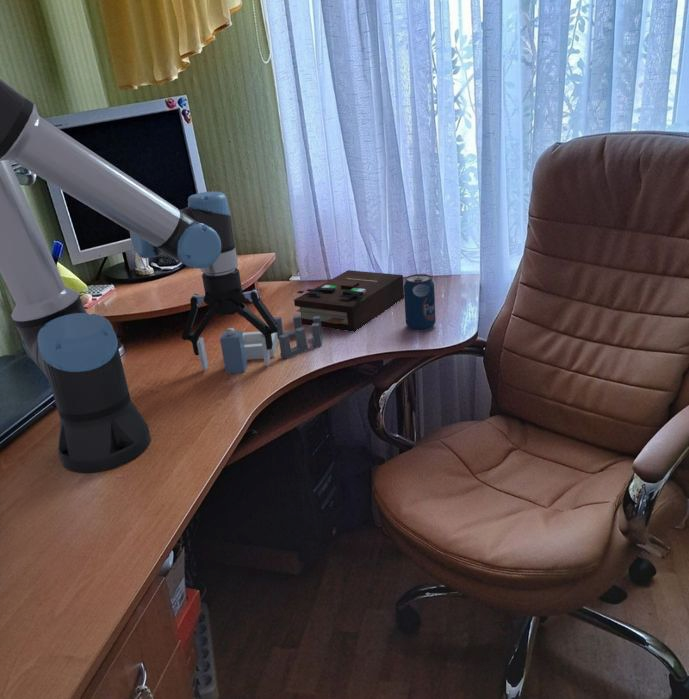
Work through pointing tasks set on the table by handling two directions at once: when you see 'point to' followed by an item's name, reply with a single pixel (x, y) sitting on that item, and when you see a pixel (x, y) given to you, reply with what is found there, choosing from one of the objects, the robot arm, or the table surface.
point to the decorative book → (350, 299)
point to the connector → (233, 351)
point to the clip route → (298, 336)
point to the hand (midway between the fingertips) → (236, 365)
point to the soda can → (419, 302)
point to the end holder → (257, 345)
